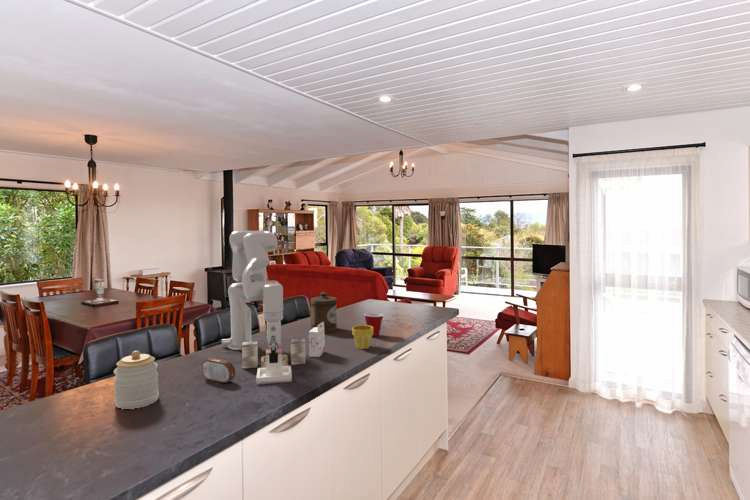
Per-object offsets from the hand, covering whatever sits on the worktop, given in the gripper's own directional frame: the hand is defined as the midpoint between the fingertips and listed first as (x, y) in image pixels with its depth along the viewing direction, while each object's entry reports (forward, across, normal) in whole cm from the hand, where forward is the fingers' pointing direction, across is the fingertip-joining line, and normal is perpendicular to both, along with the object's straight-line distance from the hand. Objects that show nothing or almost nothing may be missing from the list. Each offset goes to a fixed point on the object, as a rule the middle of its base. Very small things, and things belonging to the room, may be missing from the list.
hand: (273, 358), depth 162 cm
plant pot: (+8, +32, -42) cm, 53 cm away
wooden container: (+9, +70, -27) cm, 75 cm away
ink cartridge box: (+8, +26, -19) cm, 33 cm away
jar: (+8, -12, +45) cm, 47 cm away
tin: (+8, +2, +21) cm, 22 cm away
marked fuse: (+7, 0, 0) cm, 7 cm away
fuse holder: (+8, +16, 0) cm, 17 cm away
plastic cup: (+8, +50, -52) cm, 73 cm away
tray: (+8, 0, 0) cm, 8 cm away
